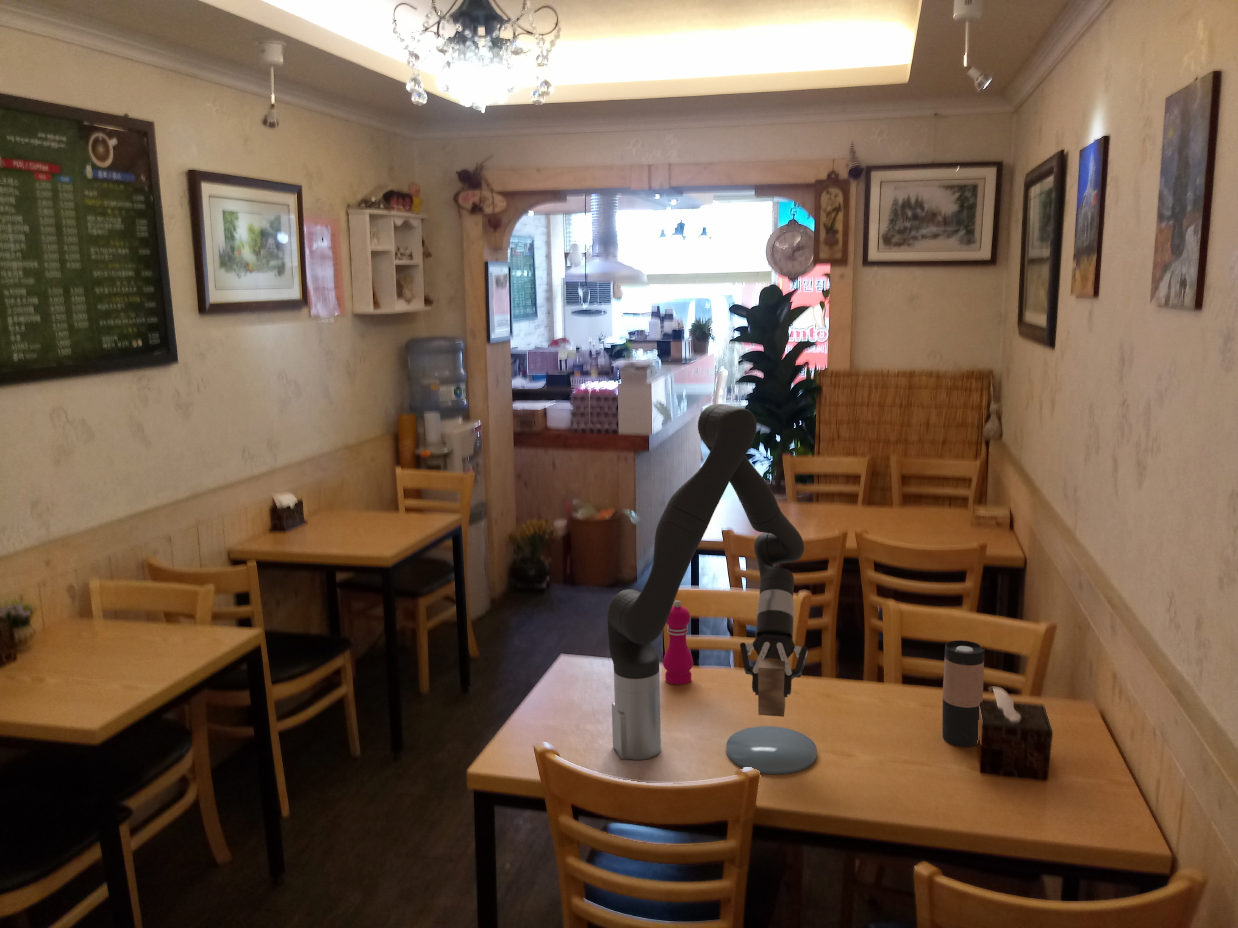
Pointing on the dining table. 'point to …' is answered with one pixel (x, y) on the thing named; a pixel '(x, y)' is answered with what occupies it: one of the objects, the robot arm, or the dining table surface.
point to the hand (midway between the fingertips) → (771, 694)
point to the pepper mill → (678, 647)
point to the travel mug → (962, 692)
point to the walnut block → (771, 687)
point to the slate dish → (771, 749)
